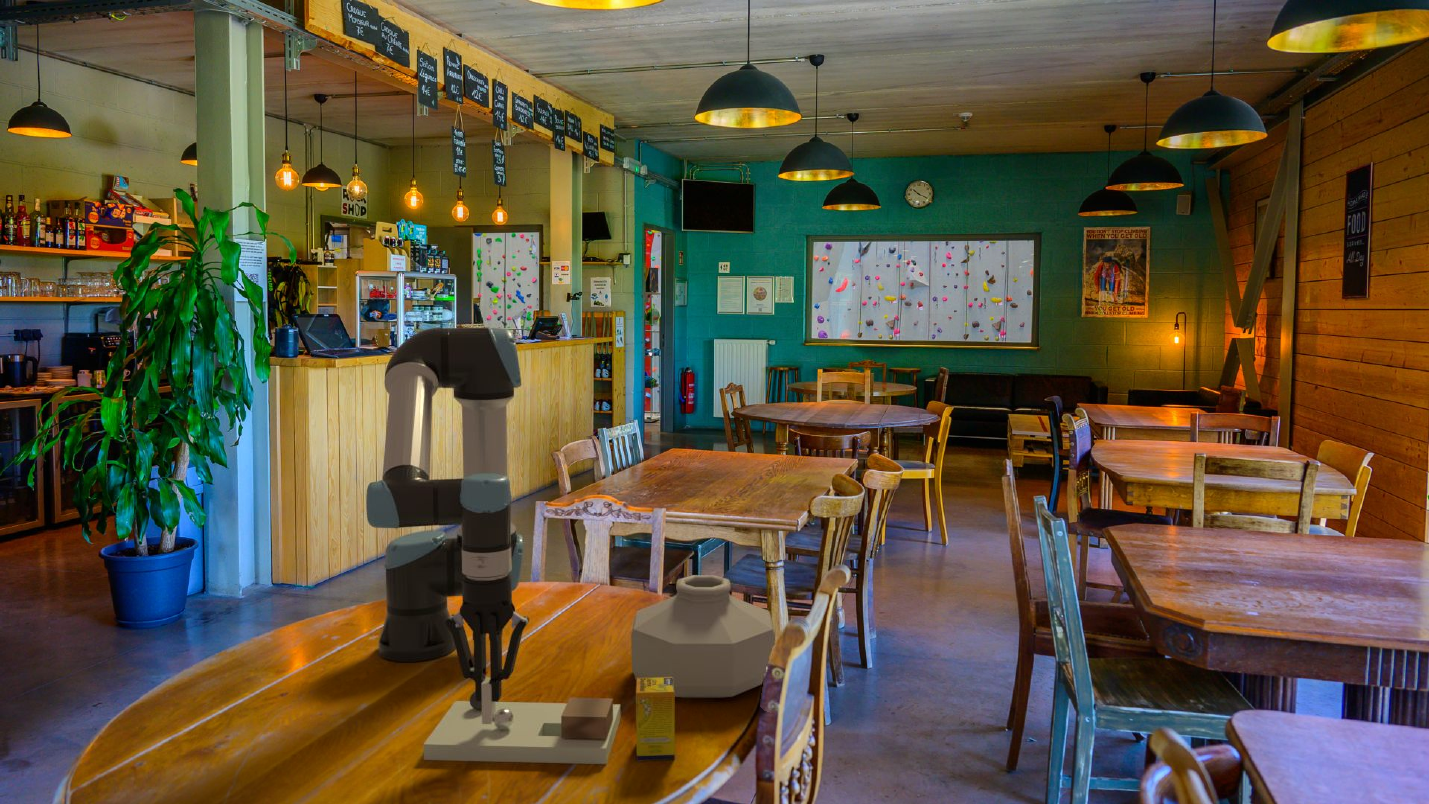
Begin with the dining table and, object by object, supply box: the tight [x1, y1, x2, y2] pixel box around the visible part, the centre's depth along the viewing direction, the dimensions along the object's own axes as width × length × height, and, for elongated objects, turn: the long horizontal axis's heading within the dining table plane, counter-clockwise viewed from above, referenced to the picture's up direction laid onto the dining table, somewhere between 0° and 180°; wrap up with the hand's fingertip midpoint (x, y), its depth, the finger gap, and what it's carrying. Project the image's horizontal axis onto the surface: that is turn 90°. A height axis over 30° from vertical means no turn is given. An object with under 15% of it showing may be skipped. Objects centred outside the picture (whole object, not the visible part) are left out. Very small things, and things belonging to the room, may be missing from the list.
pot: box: [630, 574, 776, 699], centre depth 179 cm, size 28×28×19 cm
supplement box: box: [635, 677, 676, 762], centre depth 150 cm, size 6×6×11 cm
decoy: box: [469, 691, 482, 710], centre depth 159 cm, size 3×3×3 cm
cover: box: [561, 697, 614, 739], centre depth 152 cm, size 7×7×4 cm
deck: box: [423, 700, 621, 765], centre depth 154 cm, size 28×16×2 cm, turn 88°
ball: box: [493, 709, 514, 730], centre depth 152 cm, size 3×3×3 cm
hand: (488, 720), depth 152 cm, fingers closed
